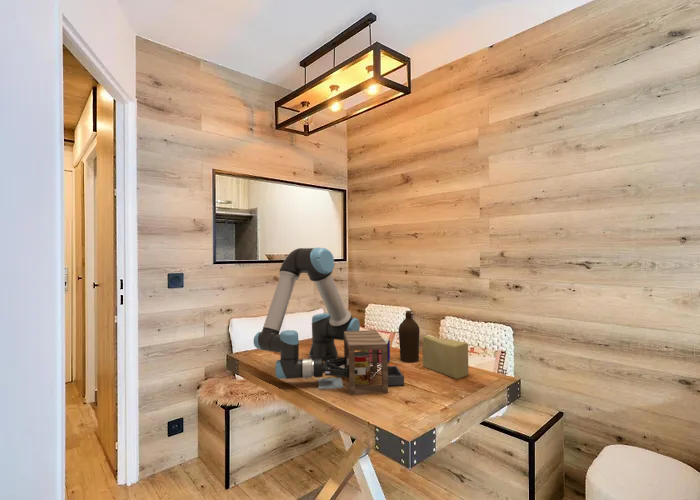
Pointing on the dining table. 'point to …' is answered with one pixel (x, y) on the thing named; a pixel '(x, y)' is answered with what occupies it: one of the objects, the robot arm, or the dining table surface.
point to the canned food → (362, 361)
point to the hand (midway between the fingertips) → (363, 365)
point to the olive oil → (409, 339)
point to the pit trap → (394, 376)
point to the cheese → (446, 356)
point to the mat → (330, 383)
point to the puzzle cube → (379, 353)
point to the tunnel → (374, 343)
